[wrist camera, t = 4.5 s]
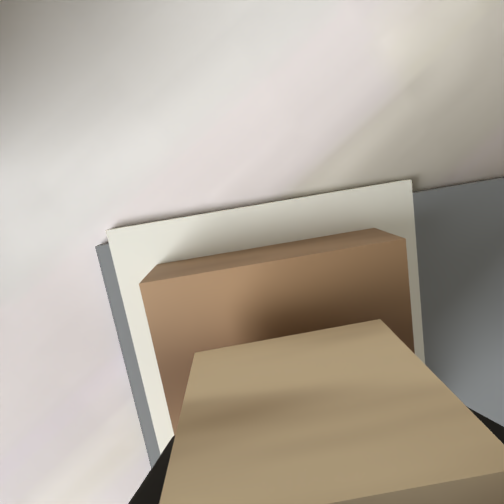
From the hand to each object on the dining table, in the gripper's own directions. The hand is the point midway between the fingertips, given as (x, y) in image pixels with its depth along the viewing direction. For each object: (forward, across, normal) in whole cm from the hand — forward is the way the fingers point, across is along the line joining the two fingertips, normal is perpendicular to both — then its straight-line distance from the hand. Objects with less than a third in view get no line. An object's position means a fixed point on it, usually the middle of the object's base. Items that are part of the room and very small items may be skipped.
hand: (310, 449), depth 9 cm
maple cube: (+2, 0, 0) cm, 2 cm away
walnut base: (+6, 0, 0) cm, 6 cm away
